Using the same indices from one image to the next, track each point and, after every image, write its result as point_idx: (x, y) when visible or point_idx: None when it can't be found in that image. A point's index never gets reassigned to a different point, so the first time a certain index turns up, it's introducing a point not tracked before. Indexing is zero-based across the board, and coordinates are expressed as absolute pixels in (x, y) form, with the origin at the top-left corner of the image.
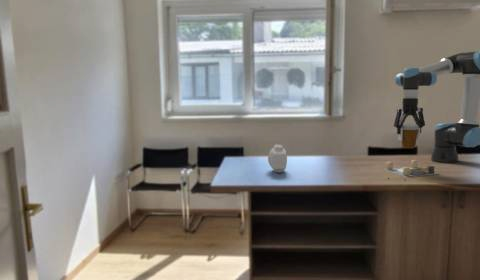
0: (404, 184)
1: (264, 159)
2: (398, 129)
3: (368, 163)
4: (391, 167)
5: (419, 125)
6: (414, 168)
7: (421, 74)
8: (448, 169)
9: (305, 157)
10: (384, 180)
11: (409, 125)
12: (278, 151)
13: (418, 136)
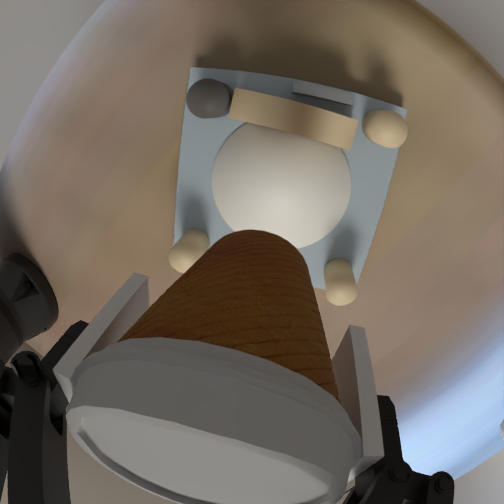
0: (458, 55)
1: (431, 472)
2: (399, 450)
3: None
4: (342, 265)
5: (44, 400)
6: (325, 117)
7: None
8: (70, 178)
9: None
10: (476, 157)
11: (170, 478)
12: None
13: (131, 299)
